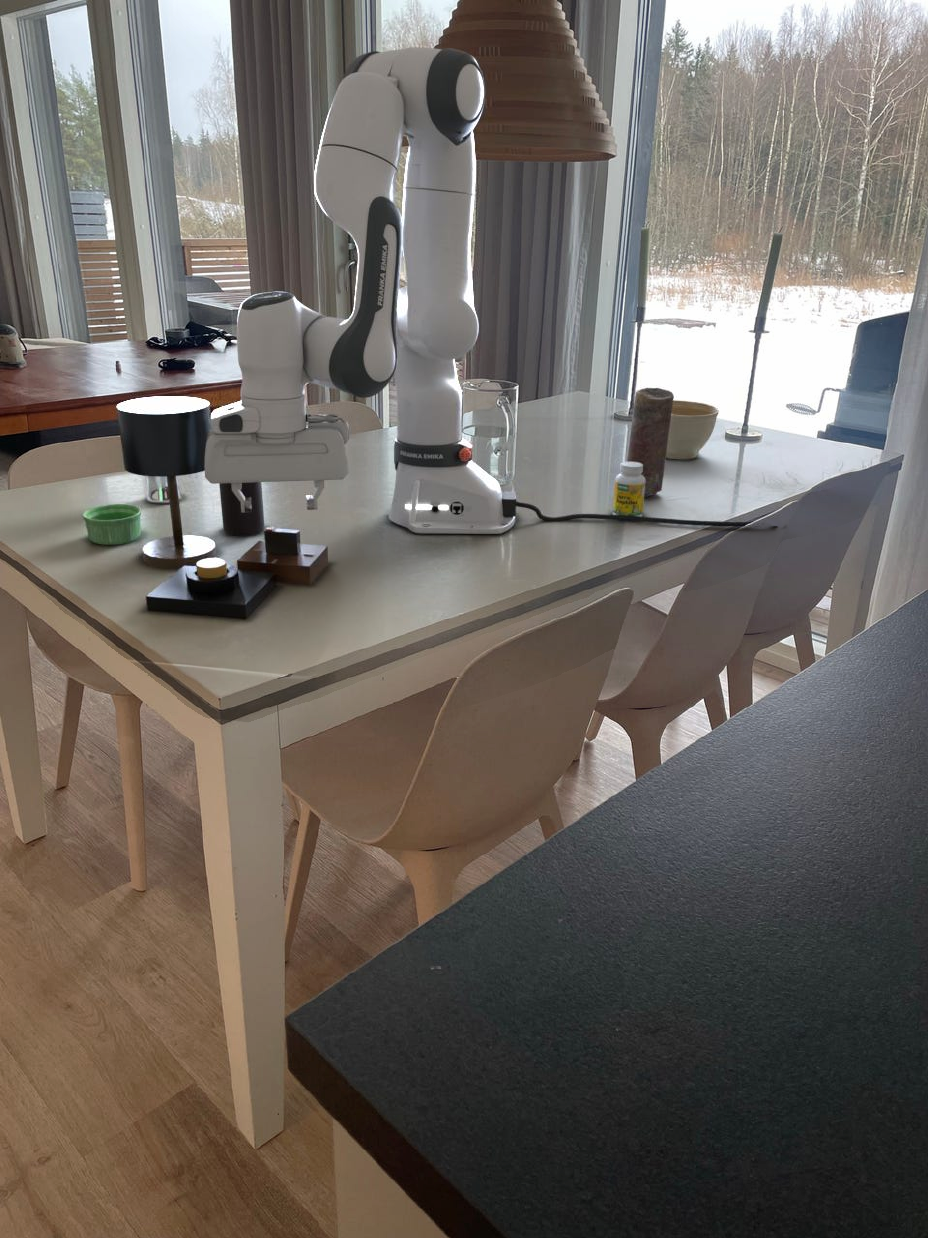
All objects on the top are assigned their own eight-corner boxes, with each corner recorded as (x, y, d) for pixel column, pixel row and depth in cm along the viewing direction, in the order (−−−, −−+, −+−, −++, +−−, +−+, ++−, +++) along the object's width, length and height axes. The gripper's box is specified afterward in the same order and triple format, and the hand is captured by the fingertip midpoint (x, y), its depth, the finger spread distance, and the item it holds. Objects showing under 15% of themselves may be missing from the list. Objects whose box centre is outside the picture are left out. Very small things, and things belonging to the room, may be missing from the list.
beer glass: (172, 505, 169) (163, 423, 163) (137, 502, 170) (127, 420, 164) (190, 495, 175) (182, 415, 169) (156, 492, 176) (147, 413, 170)
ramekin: (89, 549, 147) (85, 523, 145) (83, 532, 154) (80, 507, 152) (147, 542, 150) (144, 516, 149) (140, 526, 158) (137, 501, 156)
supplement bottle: (643, 513, 171) (649, 461, 167) (640, 521, 166) (645, 469, 162) (614, 510, 172) (619, 459, 168) (609, 518, 167) (614, 466, 163)
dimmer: (328, 564, 143) (327, 544, 142) (310, 585, 135) (309, 565, 134) (260, 558, 145) (259, 539, 143) (238, 579, 136) (236, 559, 135)
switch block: (277, 586, 134) (275, 560, 133) (246, 620, 123) (244, 592, 122) (185, 579, 136) (182, 553, 135) (147, 611, 125) (143, 583, 124)
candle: (666, 492, 184) (678, 389, 176) (657, 501, 178) (668, 395, 169) (628, 486, 187) (638, 385, 178) (618, 496, 180) (628, 391, 172)
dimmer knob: (301, 552, 139) (299, 528, 137) (297, 555, 138) (296, 531, 136) (269, 549, 140) (267, 526, 138) (265, 553, 138) (263, 529, 137)
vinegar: (270, 532, 156) (262, 413, 148) (231, 539, 153) (220, 417, 145) (256, 521, 161) (247, 405, 153) (218, 527, 158) (207, 409, 150)
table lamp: (235, 545, 150) (223, 398, 140) (202, 574, 138) (186, 415, 129) (160, 539, 152) (142, 394, 142) (120, 567, 140) (99, 410, 130)
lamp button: (231, 570, 130) (230, 558, 129) (220, 581, 126) (219, 568, 126) (204, 568, 130) (203, 556, 130) (192, 578, 127) (191, 566, 126)
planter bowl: (627, 455, 211) (631, 406, 206) (662, 443, 222) (667, 397, 218) (690, 468, 201) (697, 417, 197) (724, 455, 213) (731, 407, 208)
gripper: (346, 409, 135) (348, 501, 141) (201, 411, 131) (209, 506, 137) (350, 418, 130) (352, 513, 135) (198, 421, 125) (207, 519, 131)
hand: (279, 509), depth 136 cm, fingers open, 8 cm apart
